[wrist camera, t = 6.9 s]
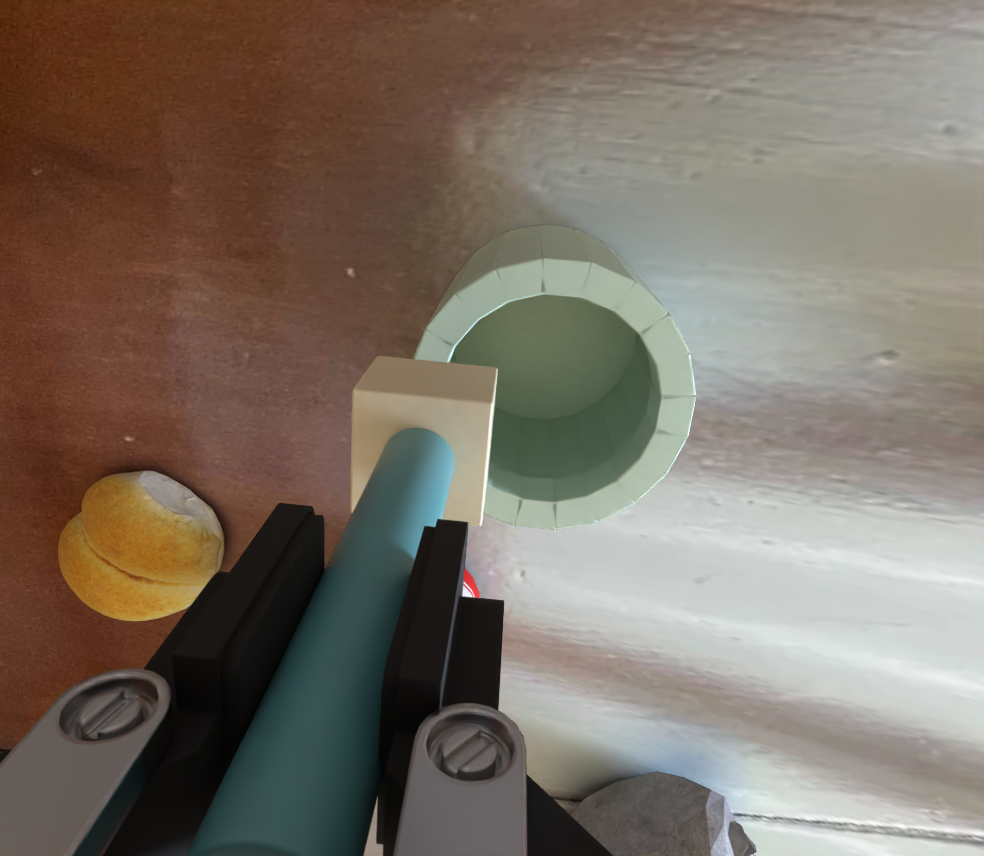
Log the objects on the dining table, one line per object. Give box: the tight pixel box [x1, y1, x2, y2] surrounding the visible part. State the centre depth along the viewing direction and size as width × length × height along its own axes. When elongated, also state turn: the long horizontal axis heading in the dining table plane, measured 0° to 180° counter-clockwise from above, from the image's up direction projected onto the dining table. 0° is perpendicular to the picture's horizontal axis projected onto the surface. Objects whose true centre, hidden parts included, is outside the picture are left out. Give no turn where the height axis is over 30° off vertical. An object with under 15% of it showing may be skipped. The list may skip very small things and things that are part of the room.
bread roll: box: [58, 470, 224, 621], centre depth 38 cm, size 8×9×4 cm
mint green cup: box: [413, 225, 696, 530], centre depth 30 cm, size 10×10×11 cm
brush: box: [186, 356, 498, 856], centre depth 14 cm, size 3×3×14 cm
